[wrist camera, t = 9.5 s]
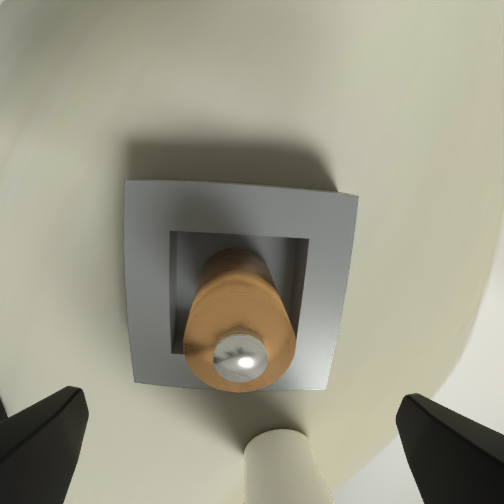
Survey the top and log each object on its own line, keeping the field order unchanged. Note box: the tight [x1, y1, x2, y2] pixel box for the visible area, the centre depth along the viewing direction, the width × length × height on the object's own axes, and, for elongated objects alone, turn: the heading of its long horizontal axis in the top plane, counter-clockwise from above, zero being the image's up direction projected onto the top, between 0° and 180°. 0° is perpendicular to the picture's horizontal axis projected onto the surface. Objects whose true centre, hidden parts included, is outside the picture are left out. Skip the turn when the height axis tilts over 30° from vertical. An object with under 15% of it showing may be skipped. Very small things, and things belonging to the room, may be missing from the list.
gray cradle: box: [124, 179, 359, 391], centre depth 17 cm, size 11×11×3 cm
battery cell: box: [183, 247, 296, 393], centre depth 14 cm, size 4×4×8 cm
